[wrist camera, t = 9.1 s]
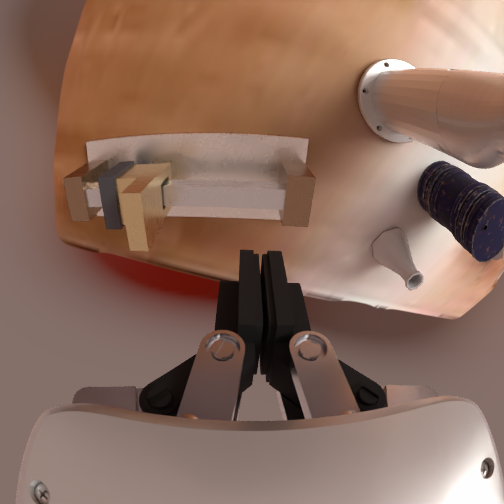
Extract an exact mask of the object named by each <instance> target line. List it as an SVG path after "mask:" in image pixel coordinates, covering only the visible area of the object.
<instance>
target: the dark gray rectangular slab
mask: <svg viewBox="0 0 504 504" xmlns="http://www.w3.org/2000/svg"><path fill="white" fill-rule="evenodd" d="M132 165H134V161H125V162H119V163H118V164H116V165H115V166H114V167H112V168H111V169H109V170H108V171H106V172H105V173H103V174H102V175H101V176H99V177H98V184H99V190H100V197H101V202H102V208H103V213H104V219H105V224H106V228H107V229H122V227H123V226H124V225H122V223H121V217H120V211H119V205H118V199H117V192H116V184H115V178H117V177H118V176H119V175H120V174H122V173H123V172H124V171H126V170H127V169H128V168H130V167H131V166H132Z"/></svg>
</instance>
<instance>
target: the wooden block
mask: <svg viewBox="0 0 504 504" xmlns="http://www.w3.org/2000/svg"><path fill="white" fill-rule="evenodd" d="M164 180H171V163H161V164H137V165H132V166H131V167H130V168H128V169H127V170H126V171H124V172H123V173H122V174H120V175H119V176H118V177H117V178H115V184H116V192H117V199H118V205H119V211H120V217H121V223H122V225H125V226H126V231H127V237H128V242H129V247H130V251H149V250H150V248H151V246H152V244H153V242H154V240H155V238H156V236H157V234H158V232H159V231H160V229H161V227H162V226H161V225H162V223H163V221H164V220H165V218H166V216H167V214H168V213H169V211H170V209H171V207H172V206H163V203H162V191H161V184H162V182H163V181H164Z"/></svg>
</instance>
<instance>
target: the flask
mask: <svg viewBox="0 0 504 504" xmlns="http://www.w3.org/2000/svg"><path fill="white" fill-rule="evenodd" d="M372 250H373V258H375V259H376V260H377V261H378V262H379V263H381V264H382V265H383V266H385V267H387V268H389V269H391V270H392V271H394V272H396V273H397V274H399V275H400V276H401V277H402V278H403V279H404V281H405V286H406V287H407V288H408V289H409V290H413V289H416V288H417V287H418V286H420V285H421V284H422V283H423V275H422V274H421V273H420V272H419V271H417V270H416V268H415V265H414V263H413V261H412V257H411V253H410V249H409V245H408V240H407V237H406V235H405V234H404V233H403V232H402V231H401V230H400V229H399V228H394V229H391V230H388V231H384V232H383V233H382V234H381V235H380V236H379V237H378V238H377V239H376V240H375V241H374V242H373V243H372Z"/></svg>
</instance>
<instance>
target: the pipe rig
mask: <svg viewBox="0 0 504 504" xmlns="http://www.w3.org/2000/svg"><path fill="white" fill-rule="evenodd" d="M308 140H309V139H308V138H302V137H293V136H282V135H269V134H253V133H227V132H187V133H161V134H146V135H133V136H123V137H114V138H105V139H98V140H91V141H88V142H86V146H87V155H88V163H87V164H85V165H84V166H82V167H80V168H79V169H77V170H76V171H74V172H72V173H71V174H69V175H68V176H66V177H64V178H63V180H64V186H65V191H66V196H67V201H68V206H69V210H70V215H71V219H72V221H90V220H91V219H92V218H93V217H94V216H95V215H96V214H97V216H104V213H103V208H102V202H101V197H100V190H99V184H98V177H99V176H101V175H102V174H103V173H105V172H106V171H108V170H109V169H111V168H112V167H114V166H115V165H116V164H118V163H119V162H125V161H134V165H137V164H161V163H171V180H164V181H163V182H162V184H161V191H162V203H163V206H172V207H171V209H170V211H169V213H168V214H167V216H183V217H222V218H249V219H271V220H281V223H282V225H283V226H302V227H308V222H309V216H310V210H311V204H312V198H313V191H314V185H315V176H314V175H313V174H312V172H311V171H310V170H309V168H308V167H307V166H306V157H307V149H308Z"/></svg>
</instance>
